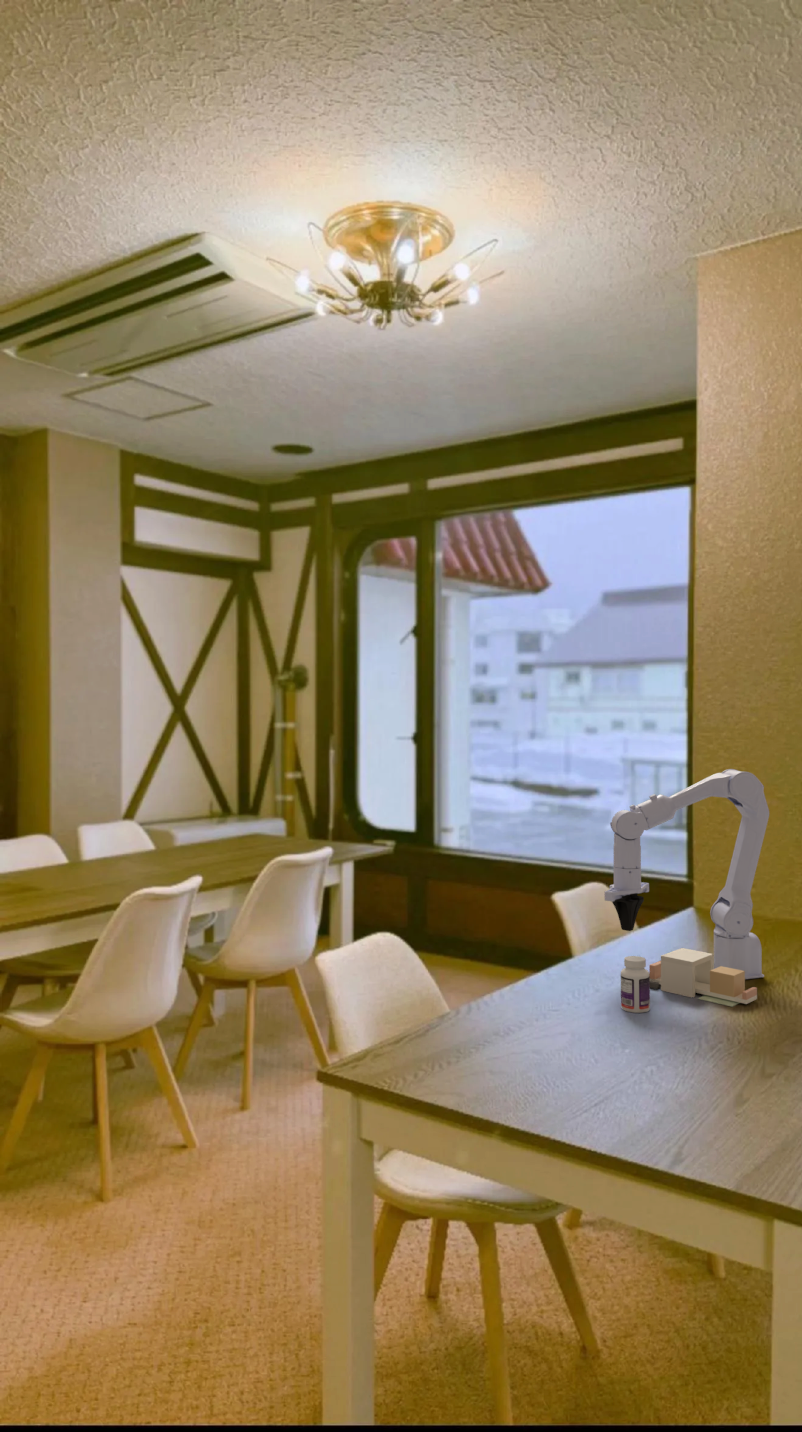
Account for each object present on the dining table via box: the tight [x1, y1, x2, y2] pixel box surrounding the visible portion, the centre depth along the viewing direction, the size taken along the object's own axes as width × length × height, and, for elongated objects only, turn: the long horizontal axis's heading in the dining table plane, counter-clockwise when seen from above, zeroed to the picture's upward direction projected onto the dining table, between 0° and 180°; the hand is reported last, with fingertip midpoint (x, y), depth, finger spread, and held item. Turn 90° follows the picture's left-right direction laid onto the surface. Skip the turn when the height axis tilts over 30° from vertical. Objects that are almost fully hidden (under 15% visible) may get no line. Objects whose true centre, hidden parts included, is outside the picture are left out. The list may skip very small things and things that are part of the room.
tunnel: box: [660, 947, 714, 998], centre depth 195 cm, size 9×7×7 cm
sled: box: [648, 960, 758, 1005], centre depth 193 cm, size 5×21×5 cm, turn 45°
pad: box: [698, 994, 740, 1008], centre depth 189 cm, size 9×7×1 cm
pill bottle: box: [620, 955, 651, 1014], centre depth 183 cm, size 5×5×10 cm
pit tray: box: [650, 981, 661, 990], centre depth 200 cm, size 9×5×1 cm, turn 135°
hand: (627, 929), depth 205 cm, fingers closed
